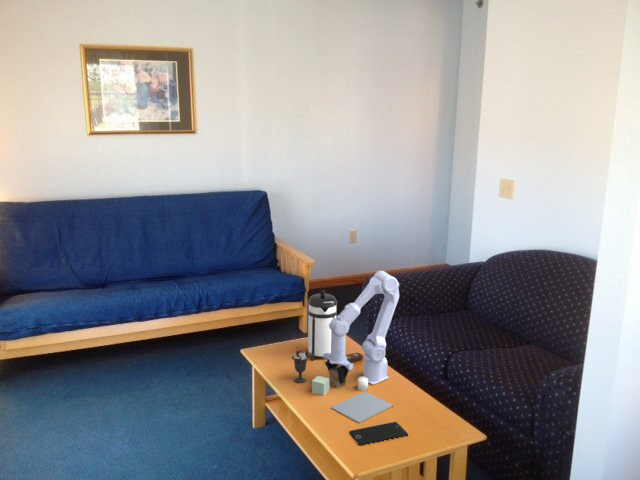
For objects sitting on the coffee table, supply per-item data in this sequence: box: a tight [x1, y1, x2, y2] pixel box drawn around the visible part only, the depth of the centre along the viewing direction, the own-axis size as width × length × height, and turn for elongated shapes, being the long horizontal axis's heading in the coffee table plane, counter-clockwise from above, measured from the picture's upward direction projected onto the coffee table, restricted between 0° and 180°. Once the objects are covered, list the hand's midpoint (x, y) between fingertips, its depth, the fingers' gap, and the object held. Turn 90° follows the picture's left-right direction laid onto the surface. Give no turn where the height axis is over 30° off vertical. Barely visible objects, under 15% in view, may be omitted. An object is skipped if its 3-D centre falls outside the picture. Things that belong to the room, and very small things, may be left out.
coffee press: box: [307, 289, 338, 361], centre depth 258 cm, size 17×16×30 cm
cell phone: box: [349, 421, 409, 446], centre depth 198 cm, size 9×18×1 cm, turn 111°
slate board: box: [330, 391, 394, 424], centre depth 215 cm, size 18×14×1 cm
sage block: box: [311, 375, 331, 396], centre depth 226 cm, size 5×5×5 cm
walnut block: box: [328, 365, 347, 389], centre depth 232 cm, size 4×4×6 cm
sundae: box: [291, 346, 310, 384], centre depth 233 cm, size 7×7×15 cm
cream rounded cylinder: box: [357, 376, 369, 392], centre depth 229 cm, size 4×4×4 cm
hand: (337, 380), depth 232 cm, fingers closed on walnut block, 4 cm apart
